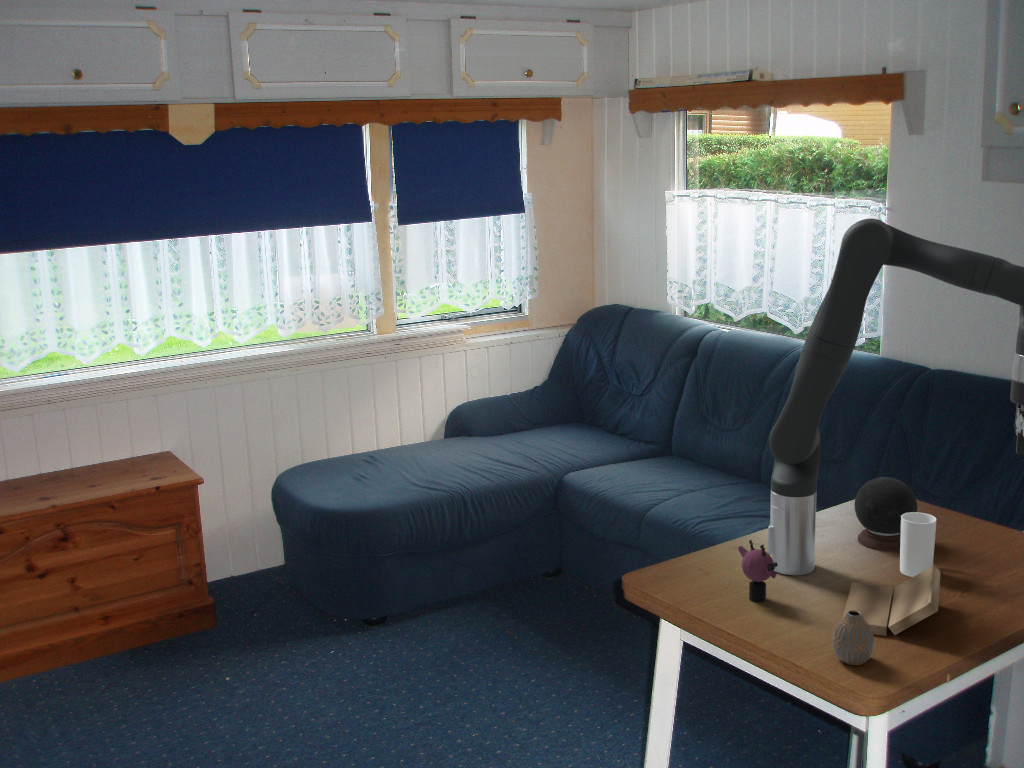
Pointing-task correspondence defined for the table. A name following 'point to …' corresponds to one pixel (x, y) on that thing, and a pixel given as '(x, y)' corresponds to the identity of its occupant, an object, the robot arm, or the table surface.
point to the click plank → (915, 600)
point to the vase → (853, 639)
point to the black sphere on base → (883, 512)
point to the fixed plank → (871, 605)
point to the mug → (916, 542)
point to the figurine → (757, 570)
